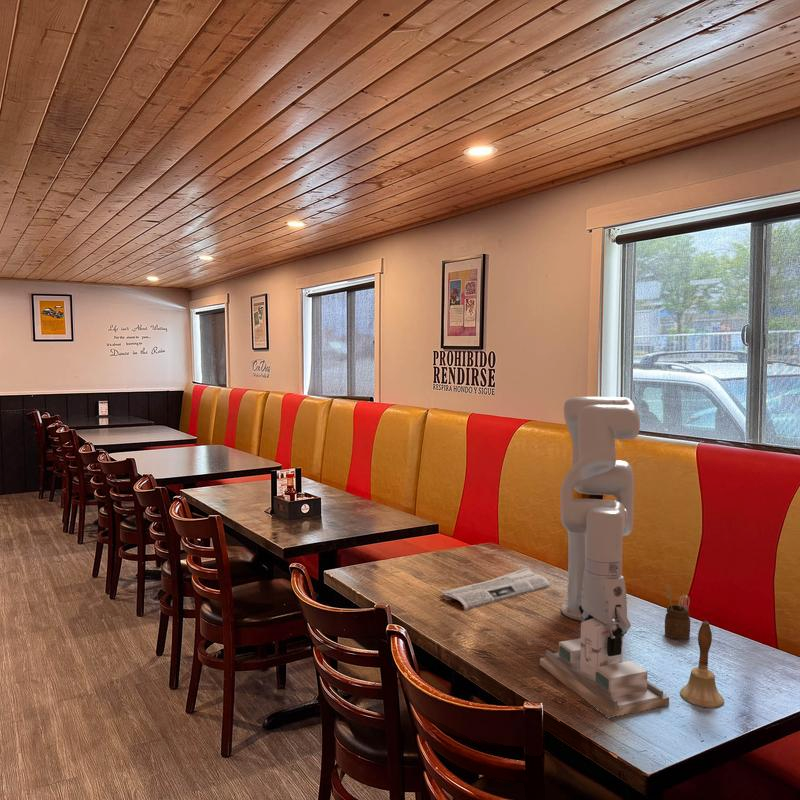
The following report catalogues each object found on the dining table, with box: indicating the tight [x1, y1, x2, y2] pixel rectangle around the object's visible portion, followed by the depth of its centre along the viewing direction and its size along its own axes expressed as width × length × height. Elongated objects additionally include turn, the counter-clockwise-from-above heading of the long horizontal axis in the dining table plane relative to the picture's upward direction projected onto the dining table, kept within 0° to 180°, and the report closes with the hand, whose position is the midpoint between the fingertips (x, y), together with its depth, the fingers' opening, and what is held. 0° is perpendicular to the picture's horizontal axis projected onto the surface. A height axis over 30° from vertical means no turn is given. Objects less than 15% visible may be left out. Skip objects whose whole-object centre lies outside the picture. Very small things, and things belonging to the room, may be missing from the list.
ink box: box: [580, 618, 624, 682], centre depth 141 cm, size 9×5×12 cm, turn 125°
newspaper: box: [441, 567, 551, 611], centre depth 197 cm, size 35×12×4 cm, turn 124°
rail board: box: [539, 637, 670, 718], centre depth 141 cm, size 15×24×6 cm, turn 21°
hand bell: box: [679, 620, 725, 709], centre depth 135 cm, size 8×8×16 cm
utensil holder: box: [664, 584, 691, 641], centre depth 166 cm, size 6×6×12 cm
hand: (601, 646), depth 141 cm, fingers open, 7 cm apart
